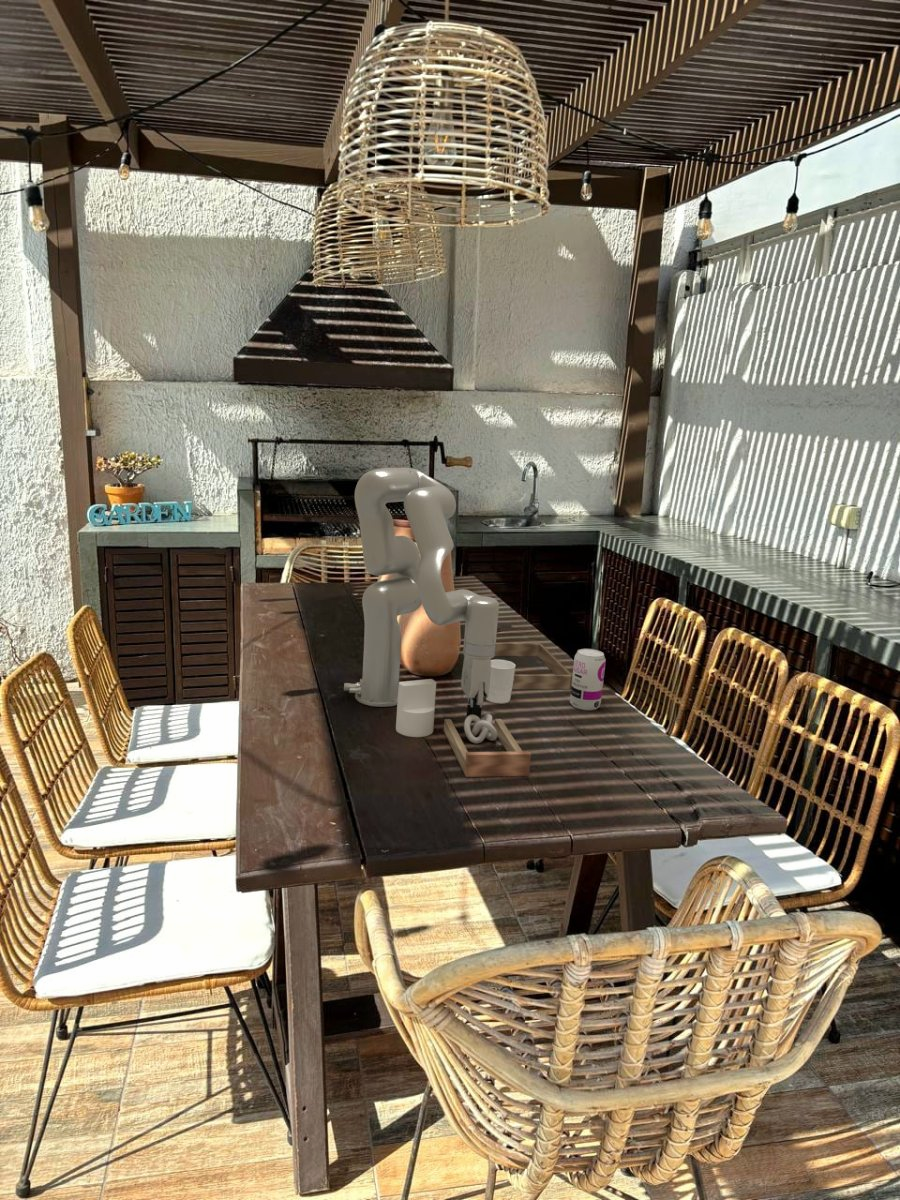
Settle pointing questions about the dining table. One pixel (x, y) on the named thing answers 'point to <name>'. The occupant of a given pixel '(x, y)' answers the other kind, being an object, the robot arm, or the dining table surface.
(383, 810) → the dining table surface
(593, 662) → the supplement can
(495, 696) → the white cup
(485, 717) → the knot
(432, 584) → the robot arm
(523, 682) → the serving tray rim
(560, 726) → the dining table surface
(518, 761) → the guide channel
